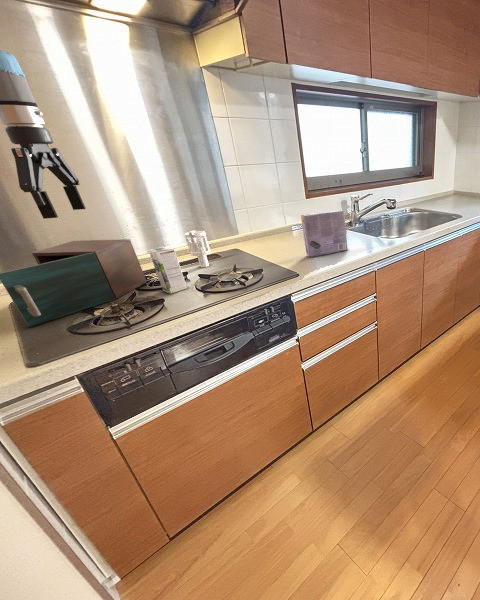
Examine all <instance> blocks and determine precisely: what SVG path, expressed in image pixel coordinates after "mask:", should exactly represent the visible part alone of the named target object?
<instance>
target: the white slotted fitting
mask: <svg viewBox="0 0 480 600" xmlns="http://www.w3.org/2000/svg"><path fill="white" fill-rule="evenodd" d="M183 235H184V238H185V241H186V243H187V246H188V249H189V253H190V256H192V257H197V260H198V263H199V267H200V268H207V267H209V266H210V264H209V261H208V257H207V255H209V254H210V253H211V248H210V245H209V242H208V237H207V235H206V231H205V230H190V231H188V232H184V234H183Z"/></svg>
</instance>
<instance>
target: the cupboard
mask: <svg viewBox="0 0 480 600" xmlns="http://www.w3.org/2000/svg"><path fill="white" fill-rule="evenodd" d="M88 253H94V254H95V257H96V259H97V261H98V263H99V265H100V267H101V270H102V272H103V274H104V276H105V278H106V280H107V283H108V285H109V287H110V289H111V291H112V293H113V296H114V298H115V299H118V298H120V297H122V296H124V295H126V294H129V292H131V291H133V290H135V289H138V288H139V287H141V286H142V285H144V284H146V283H148V281H147V278H146V276H145V273H144V271H143V268H142V265H141V263H140V260H139V258H138V256H137V254H136V251H135V248H134V246H133V243H132V241H131V239H130V238H128V239H127V238H126V239H123V238H122V239H95V240H94V239H92V240H91V239H90V240H89V239H87V240H85V239H84V240H71V241H68V242H65V243H61V244H58V245H54V246H51V247H48V248H44V249H41V250H37V251H34V252H31V254H32V257H33V258H34V260H35V262H36V263H37V265H38V264H43V263H47V262H52V261H56V260H61V259H65V258H70V257H74V256H79V255H83V254H88Z"/></svg>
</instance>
